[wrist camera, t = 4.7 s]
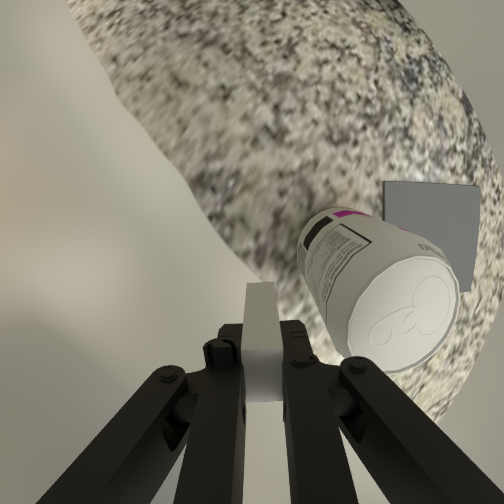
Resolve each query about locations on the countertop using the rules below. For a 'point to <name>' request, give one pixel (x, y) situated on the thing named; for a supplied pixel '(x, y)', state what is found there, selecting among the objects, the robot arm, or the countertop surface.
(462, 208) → the mat
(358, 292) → the supplement can
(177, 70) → the countertop surface
